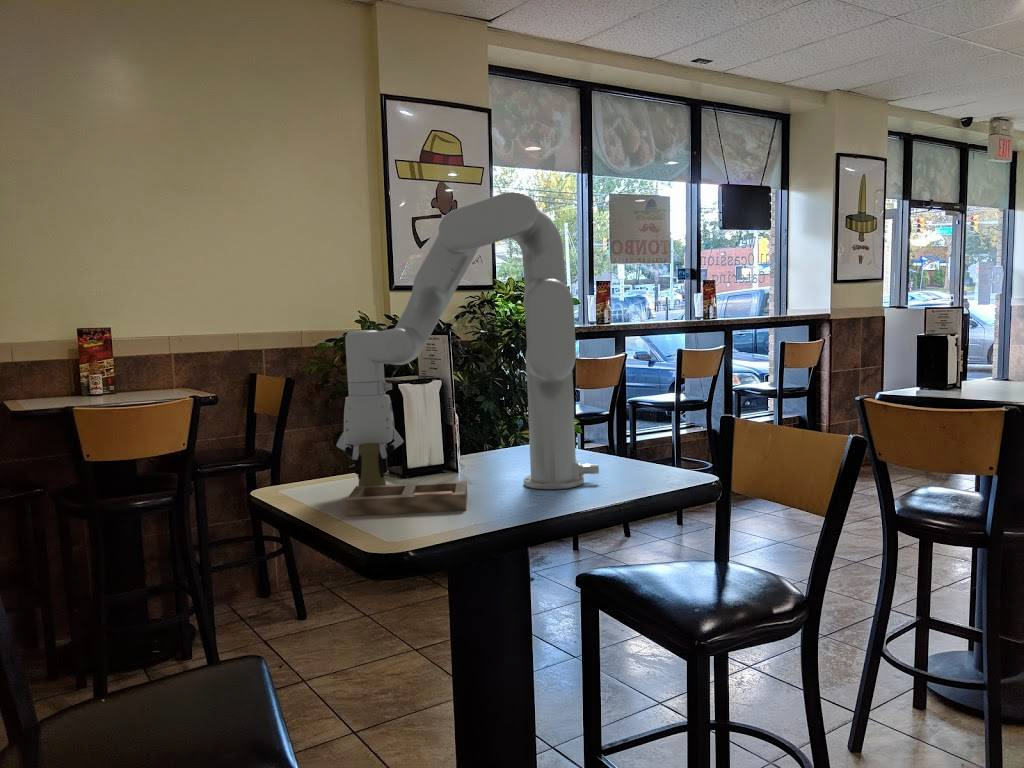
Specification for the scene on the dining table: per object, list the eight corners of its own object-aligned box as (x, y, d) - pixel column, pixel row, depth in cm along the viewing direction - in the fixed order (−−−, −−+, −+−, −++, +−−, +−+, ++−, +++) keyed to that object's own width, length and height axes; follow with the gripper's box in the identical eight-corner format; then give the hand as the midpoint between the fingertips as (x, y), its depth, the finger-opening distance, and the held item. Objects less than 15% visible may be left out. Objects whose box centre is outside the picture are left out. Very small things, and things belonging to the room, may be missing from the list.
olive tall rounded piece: (380, 495, 163) (377, 441, 162) (353, 494, 164) (350, 442, 163) (391, 488, 169) (388, 437, 168) (364, 488, 170) (361, 437, 169)
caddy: (467, 495, 159) (466, 479, 159) (466, 510, 147) (465, 492, 147) (357, 500, 159) (356, 484, 158) (346, 516, 147) (345, 498, 146)
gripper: (408, 386, 169) (413, 471, 170) (329, 390, 168) (335, 475, 170) (405, 389, 161) (410, 478, 163) (322, 393, 161) (328, 482, 162)
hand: (371, 476), depth 166 cm, fingers closed on olive tall rounded piece, 3 cm apart
